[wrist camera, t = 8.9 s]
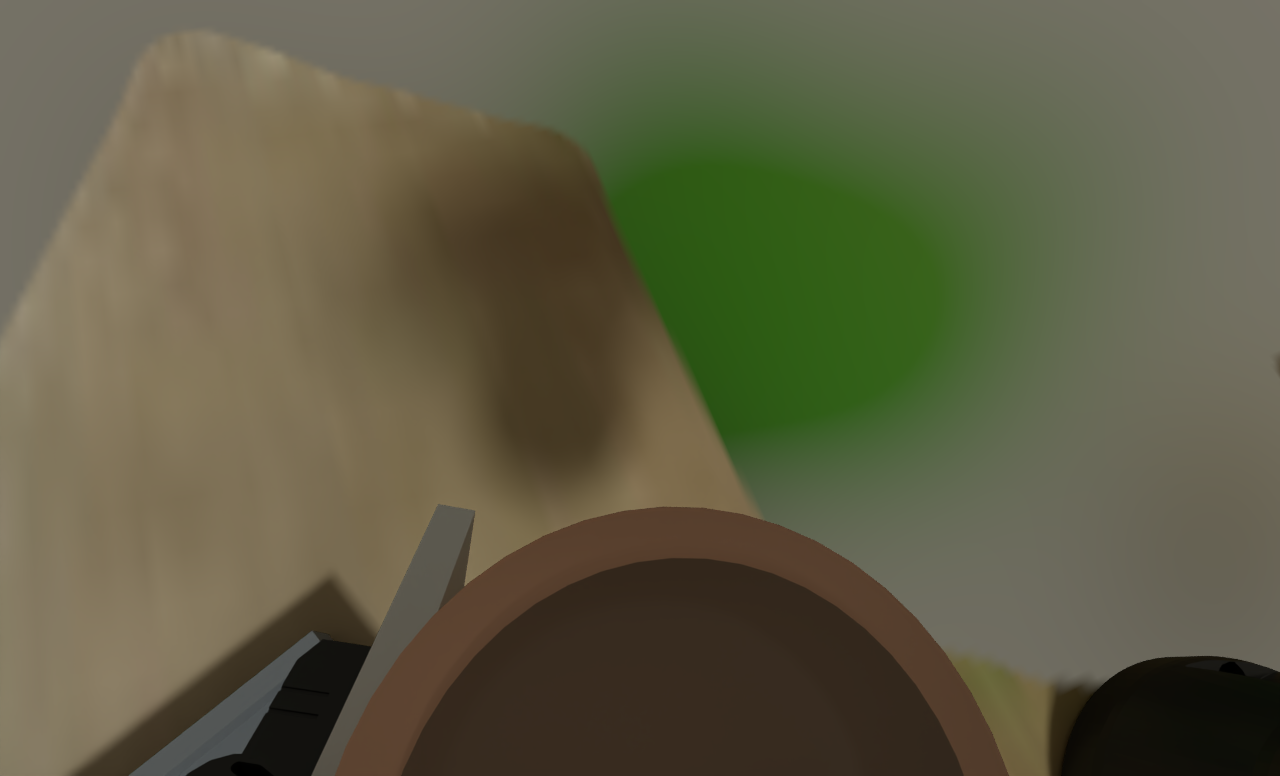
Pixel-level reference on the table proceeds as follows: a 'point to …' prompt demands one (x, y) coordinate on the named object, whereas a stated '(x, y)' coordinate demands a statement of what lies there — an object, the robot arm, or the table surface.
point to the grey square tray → (228, 719)
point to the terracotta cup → (672, 665)
